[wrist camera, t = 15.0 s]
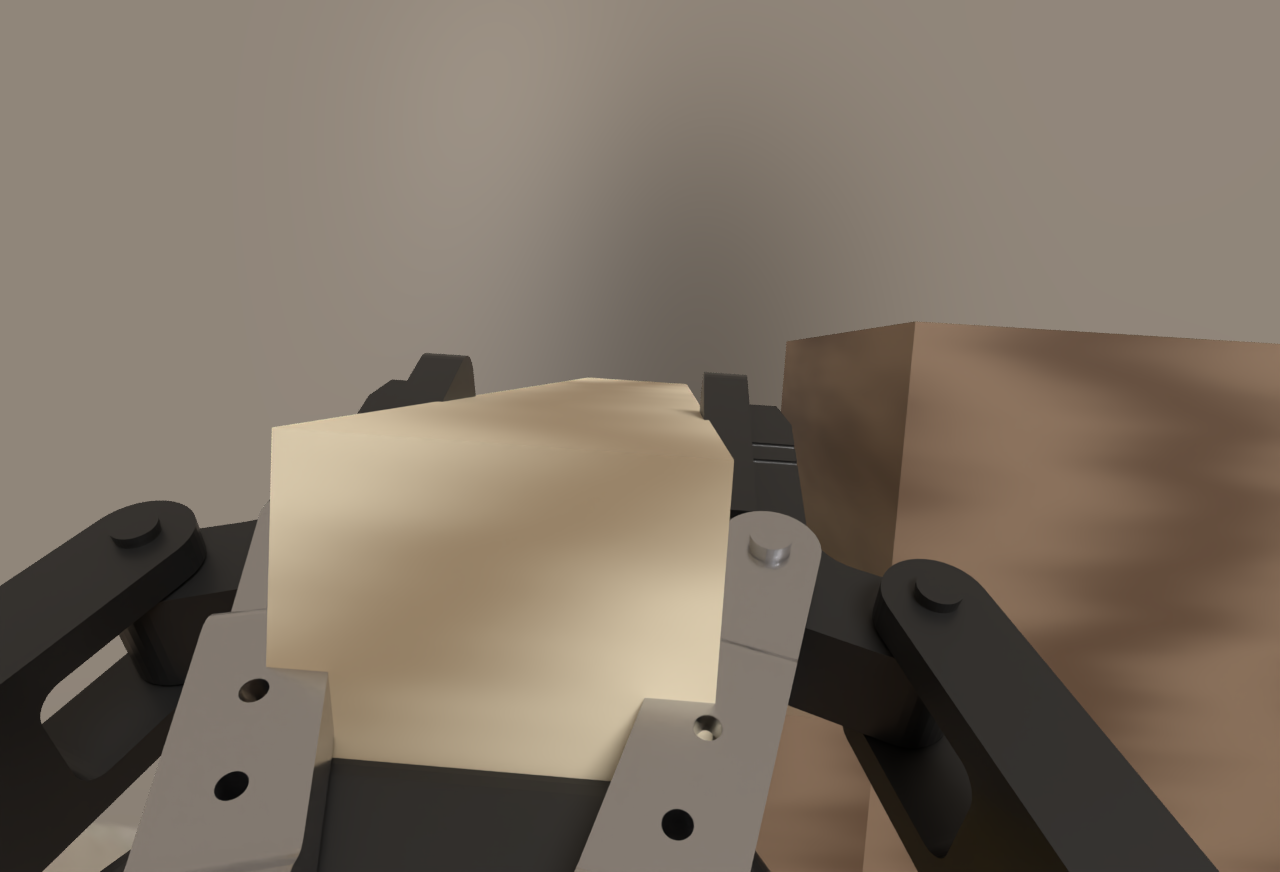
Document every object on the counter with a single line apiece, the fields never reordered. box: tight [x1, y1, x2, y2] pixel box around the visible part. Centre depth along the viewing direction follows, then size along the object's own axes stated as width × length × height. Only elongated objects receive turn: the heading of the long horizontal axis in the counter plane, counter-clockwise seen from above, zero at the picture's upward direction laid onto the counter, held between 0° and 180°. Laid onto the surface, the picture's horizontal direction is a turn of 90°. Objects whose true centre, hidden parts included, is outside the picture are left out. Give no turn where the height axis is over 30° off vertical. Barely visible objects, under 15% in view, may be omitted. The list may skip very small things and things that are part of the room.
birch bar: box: [265, 378, 734, 781], centre depth 20 cm, size 4×26×3 cm, turn 178°
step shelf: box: [755, 322, 1280, 872], centre depth 26 cm, size 20×18×32 cm
